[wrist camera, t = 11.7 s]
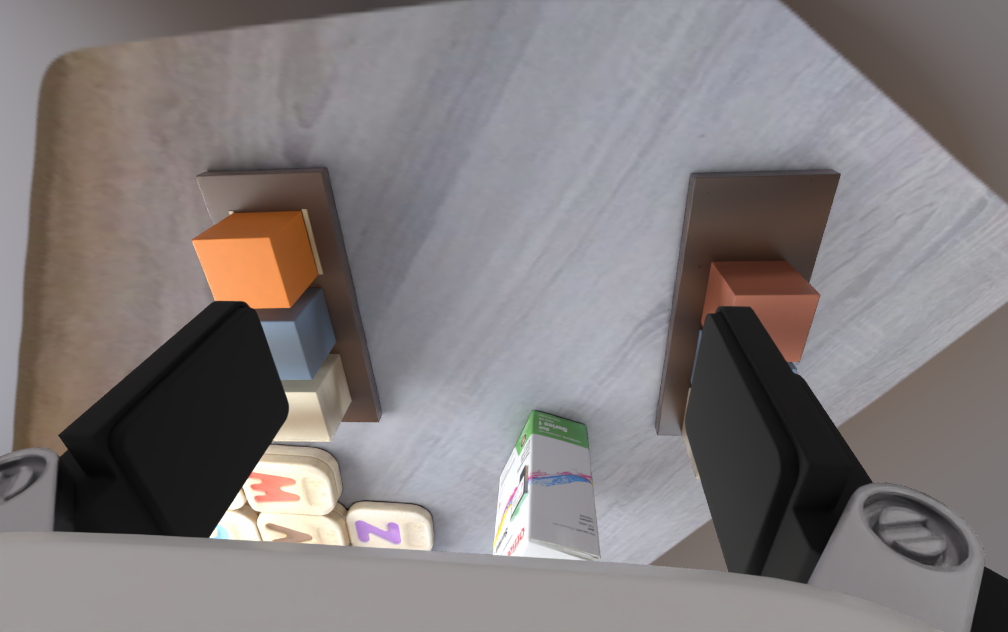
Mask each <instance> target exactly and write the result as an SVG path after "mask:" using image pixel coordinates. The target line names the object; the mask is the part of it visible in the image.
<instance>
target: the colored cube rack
mask: <svg viewBox="0 0 1008 632" xmlns="http://www.w3.org/2000/svg"><path fill="white" fill-rule="evenodd" d="M840 175H841V174H840V173H838V172H836V171H834V170H799V171H764V172H730V173H696V174H691V175H690V182H689V189H688V197H687V204H686V211H685V218H684V225H683V232H682V239H681V246H680V253H679V260H678V268H677V275H676V282H675V289H674V296H673V303H672V310H671V317H670V324H669V332H668V339H667V346H666V353H665V360H664V367H663V374H662V381H661V388H660V396H659V403H658V410H657V417H656V424H655V428H656V431H657V435H682V437H683V440H684V443H685V446H686V449H687V452H688V455H689V458H690V461H691V464H692V467H693V470H694V473H695V476H696V479H700V477H699V473H698V470H697V467H696V463H695V460H694V457H693V454H692V450H691V447H690V444H689V440H688V437H687V434H686V428H685V415H686V410H687V405H688V400H689V395H690V390H691V385H692V380H693V375H694V370H695V365H696V360H697V355H698V350H699V345H700V340H701V335H702V330H703V325H704V321H705V317H706V315H707V314H708V313H715V311H716V309H717V308H718V307H719V306H748V307H751V308H752V309H753V310H754V312H755V313H756V315H757V317H758V318H759V320H760V321H761V323H762V324H763V326H764V327H765V329H766V330H767V332H768V334H769V335H770V337H771V338H772V340H773V341H774V343H775V344H776V346H777V347H778V349H779V351H780V352H781V354H782V355H783V357H784V358H785V360H786V361H787V363H788V364H789V366H790V367H791V369H792V371H793V372H794V373H795V374H796V372H797V368H796V367H795V366H794V364H793V363H792V362H800V359H801V356H802V353H803V350H804V347H805V343H806V340H807V337H808V334H809V330H810V327H811V324H812V321H813V317H814V314H815V311H816V308H817V305H818V301H819V298H820V294H819V293H818V292H817V291H816V290H815V289H814V288H813V287H812V286H811V285H810V284H809V281H810V278H811V275H812V271H813V268H814V264H815V261H816V257H817V254H818V251H819V247H820V244H821V240H822V237H823V233H824V230H825V227H826V223H827V220H828V216H829V213H830V209H831V206H832V203H833V199H834V196H835V192H836V189H837V186H838V182H839V179H840Z"/></svg>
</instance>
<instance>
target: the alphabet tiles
mask: <svg viewBox="0 0 1008 632" xmlns="http://www.w3.org/2000/svg"><path fill="white" fill-rule="evenodd" d="M342 488H343V486H342V481H341V476H340V471H339V466H338V463H337V461H336V460H335V458H334V457H333V456H332V455H330V454H329V453H328V452H326V451H323V450H321V449H317V448H311V447H296V446H283V445H269V447H268V449H267V450H266V452H265V453H264V455H263V456H262V458H261V459H260V461H259V462H258V464H257V465H256V467H255V468H254V470H253V472H252V473H251V475H250V476H249V478H248V479H247V481H246V482H245V484H244V485H243V487H242V488H241V490H240V492H239V493H238V495H237V496H236V498H235V499H234V501H233V502H232V504H231V505H230V507H229V508H228V510H227V511H226V513H225V515H224V516H223V518H222V519H221V521H220V522H219V524H218V525H217V527H216V528H215V530H214V531H213V533H212V534H211V536H210V538H216V539H234V540H253V541H272V542H290V543H307V544H324V545H342V546H349V544H350V542H351V543H352V545H353V546H359V547H376V548H393V549H409V550H426V551H430V550H431V549H432V547H433V541H434V530H433V520H432V516H431V515H430V513H429V512H428V511H427V510H426V509H424V508H422V507H420V506H418V505H413V504H402V503H384V502H368V501H363V502H358V503H355V504H354V505H352V506H351V507H350V509H349V511H347V510H346V509H345V508H344V507H343V506H342V505H341V504H340V503H338V502H337V500H338V499H339V497H340V495H341V492H342Z"/></svg>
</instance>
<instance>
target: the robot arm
mask: <svg viewBox="0 0 1008 632" xmlns="http://www.w3.org/2000/svg"><path fill="white" fill-rule="evenodd" d="M288 414H289V403H288V400H287V397H286V394H285V391H284V388H283V385H282V382H281V379H280V377H279V374H278V371H277V368H276V365H275V362H274V359H273V356H272V353H271V351H270V348H269V345H268V342H267V339H266V336H265V333H264V330H263V328H262V325H261V322H260V319H259V316H258V314H257V312H256V310H255V309H253V308H250V306H249V305H248V304H247V303H246V302H244V301H214V302H213V303H211V304H210V305H209V306H208V307H206V308H205V309H204V310H203V311H202V312H201V313H199V314H198V315H197V316H196V317H195V318H194V319H192V320H191V321H190V322H189V323H188V324H187V325H185V326H184V327H183V328H182V329H181V330H180V331H179V332H177V333H176V334H175V335H174V336H173V337H172V338H170V339H169V340H168V341H167V342H166V343H165V344H163V345H162V346H161V347H160V348H159V349H158V350H156V351H155V352H154V353H153V354H152V355H151V356H150V357H148V358H147V359H146V360H145V361H144V362H143V363H141V364H140V365H139V366H138V367H137V368H136V369H134V370H133V371H132V372H131V373H130V374H129V375H128V376H126V377H125V378H124V379H123V380H122V381H121V382H119V383H118V384H117V385H116V386H115V387H114V388H112V389H111V390H110V391H109V392H108V393H107V394H105V395H104V396H103V397H102V398H101V399H100V400H99V401H97V402H96V403H95V404H94V405H93V406H92V407H90V408H89V409H88V410H87V411H86V412H85V413H83V414H82V415H81V416H80V417H79V418H78V419H76V420H75V421H74V422H73V423H72V424H71V425H70V426H68V427H67V428H66V429H65V430H64V431H63V432H61V433H60V434H59V435H58V436H59V437H60V438H61V440H62V441H63V443H64V444H65V446H66V447H67V449H68V450H67V451H66V452H65V453H64V454H63V455H62V456H61V457H59V456H58V454H57V453H56V452H54V451H53V450H51V449H50V448H42V447H35V448H27V449H22V450H18V451H15V452H11V453H8V454H5V455H3V456H1V457H0V632H1008V579H1006V578H1004V577H1003V576H1001V575H999V574H997V573H995V572H994V571H992V570H990V569H988V568H986V567H985V566H984V565H985V555H984V548H983V546H982V544H981V542H980V540H979V538H978V536H977V534H976V533H975V532H974V530H973V529H972V528H971V527H970V526H969V525H968V524H967V523H966V521H965V520H964V519H963V518H962V517H961V516H959V515H958V514H957V513H955V512H954V511H953V510H952V509H950V508H949V507H948V506H946V505H945V504H943V503H941V502H940V501H938V500H936V499H934V498H932V497H931V496H929V495H927V494H925V493H922V492H919V491H917V490H914V489H912V488H909V487H906V486H902V485H897V484H891V483H873V482H872V481H871V479H870V478H869V476H868V475H867V473H866V471H865V470H864V468H863V467H862V465H861V464H860V462H859V461H858V460H857V458H856V457H855V455H854V453H853V452H852V451H851V449H850V447H849V446H848V444H847V443H846V441H845V440H844V438H843V437H842V436H841V434H840V432H839V431H838V429H837V428H836V426H835V425H834V423H833V422H832V420H831V419H830V417H829V416H828V414H827V413H826V411H825V410H824V408H823V407H822V405H821V404H820V402H819V401H818V399H817V398H816V396H815V395H814V393H813V392H812V390H811V389H810V387H809V386H808V384H807V383H806V381H805V380H804V379H803V378H802V377H801V376H800V375H798V374H795V373H794V372H793V371H792V369H791V367H790V366H789V364H788V363H787V361H786V360H785V358H784V357H783V355H782V354H781V352H780V351H779V349H778V347H777V346H776V344H775V343H774V341H773V340H772V338H771V337H770V335H769V334H768V332H767V330H766V329H765V327H764V326H763V324H762V323H761V321H760V320H759V318H758V317H757V315H756V313H755V312H754V310H753V309H752V308H751V307H748V306H719V307H718V308H717V309H716V311H715V313H708V314H707V315H706V317H705V321H704V325H703V330H702V335H701V340H700V345H699V350H698V355H697V360H696V365H695V370H694V375H693V380H692V385H691V390H690V395H689V400H688V405H687V410H686V415H685V428H686V434H687V437H688V440H689V444H690V447H691V450H692V454H693V457H694V460H695V463H696V467H697V470H698V473H699V477H700V480H701V483H702V486H703V490H704V493H705V496H706V500H707V503H708V506H709V509H710V513H711V516H712V519H713V522H714V526H715V529H716V532H717V535H718V539H719V542H720V545H721V549H722V552H723V555H724V559H725V562H726V565H727V568H728V572H723V571H713V570H700V569H688V568H676V567H664V566H650V565H639V564H626V563H614V562H599V561H583V560H568V559H552V558H537V557H521V556H506V555H490V554H475V553H459V552H443V551H426V550H409V549H393V548H376V547H359V546H342V545H324V544H307V543H290V542H272V541H253V540H234V539H216V538H210V536H211V534H212V533H213V531H214V530H215V528H216V527H217V525H218V524H219V522H220V521H221V519H222V518H223V516H224V515H225V513H226V511H227V510H228V508H229V507H230V505H231V504H232V502H233V501H234V499H235V498H236V496H237V495H238V493H239V492H240V490H241V488H242V487H243V485H244V484H245V482H246V481H247V479H248V478H249V476H250V475H251V473H252V472H253V470H254V468H255V467H256V465H257V464H258V462H259V461H260V459H261V458H262V456H263V455H264V453H265V452H266V450H267V449H268V447H269V445H270V444H271V442H272V441H273V439H274V438H275V436H276V435H277V433H278V432H279V430H280V429H281V427H282V426H283V424H284V422H285V421H286V419H287V417H288Z"/></svg>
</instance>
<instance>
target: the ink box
mask: <svg viewBox="0 0 1008 632" xmlns="http://www.w3.org/2000/svg"><path fill="white" fill-rule="evenodd" d="M493 555H506V556H521V557H537V558H552V559H568V560H583V561H599V560H600V559H601V556H600V546H599V537H598V527H597V518H596V509H595V500H594V491H593V482H592V472H591V463H590V454H589V444H588V433H587V428H586V426H585V425H583V424H579V423H576V422H573V421H569V420H566V419H563V418H559V417H556V416H553V415H549V414H545V413H542V412H538V411H532V412H531V415H530V417H529V419H528V421H527V423H526V425H525V427H524V429H523V431H522V433H521V435H520V437H519V439H518V441H517V444H516V446H515V448H514V450H513V452H512V454H511V456H510V458H509V460H508V462H507V464H506V466H505V468H504V470H503V472H502V474H501V477H500V487H499V497H498V507H497V518H496V528H495V538H494V548H493Z"/></svg>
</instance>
